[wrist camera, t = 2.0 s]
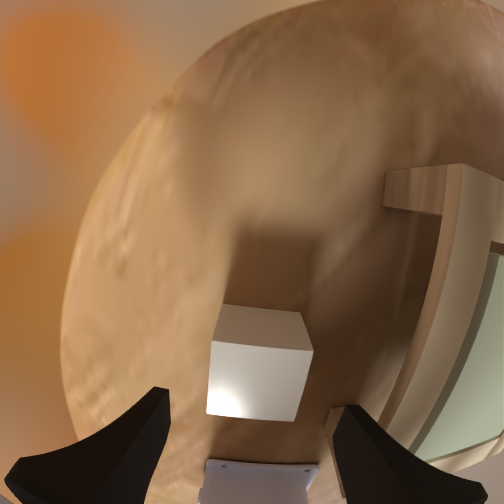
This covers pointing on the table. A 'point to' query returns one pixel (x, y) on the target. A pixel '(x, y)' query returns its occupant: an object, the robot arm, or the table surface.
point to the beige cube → (258, 363)
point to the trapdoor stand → (441, 297)
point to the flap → (472, 378)
